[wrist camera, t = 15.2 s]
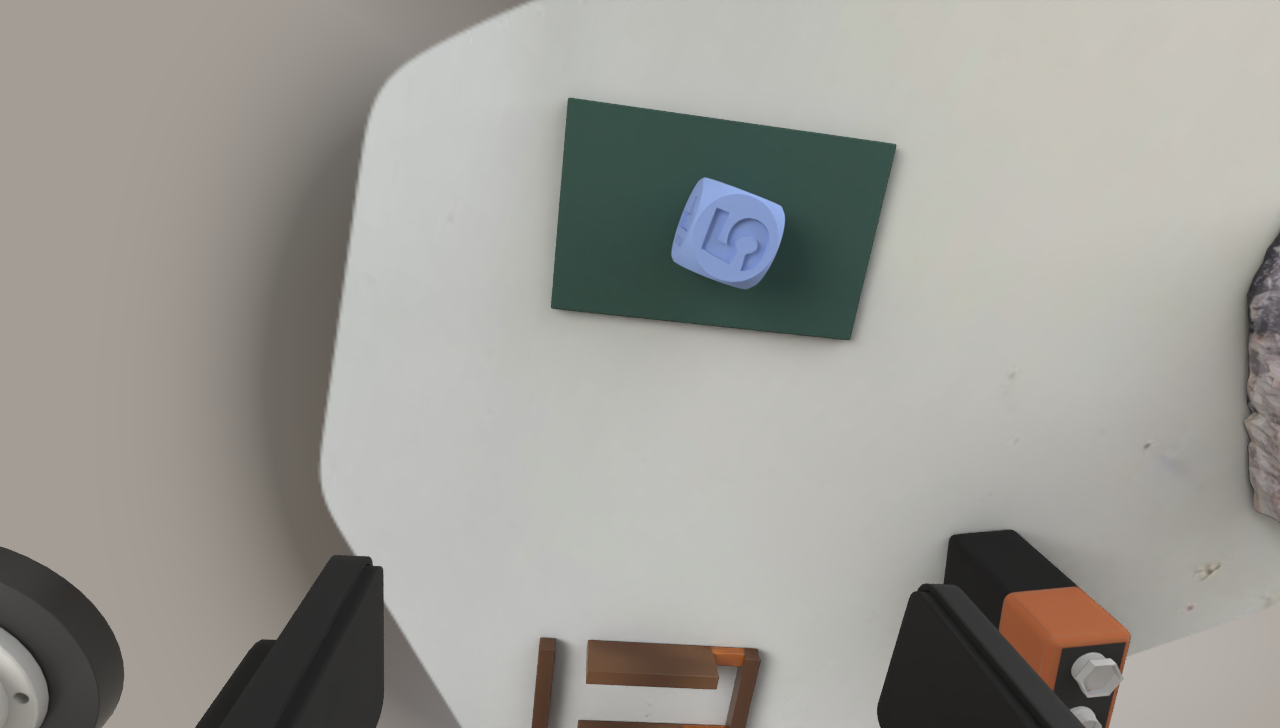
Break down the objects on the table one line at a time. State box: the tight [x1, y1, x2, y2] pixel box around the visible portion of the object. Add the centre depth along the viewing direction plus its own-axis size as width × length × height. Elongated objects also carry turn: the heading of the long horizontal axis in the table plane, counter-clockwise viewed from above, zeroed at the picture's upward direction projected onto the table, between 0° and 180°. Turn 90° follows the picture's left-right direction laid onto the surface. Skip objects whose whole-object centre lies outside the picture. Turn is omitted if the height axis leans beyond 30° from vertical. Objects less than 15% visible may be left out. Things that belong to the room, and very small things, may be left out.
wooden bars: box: [532, 638, 761, 728], centre depth 39 cm, size 14×8×2 cm, turn 83°
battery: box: [944, 530, 1130, 728], centre depth 34 cm, size 4×7×10 cm, turn 3°
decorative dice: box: [671, 178, 785, 289], centre depth 28 cm, size 4×4×4 cm
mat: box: [551, 98, 896, 340], centre depth 31 cm, size 16×10×1 cm, turn 83°
